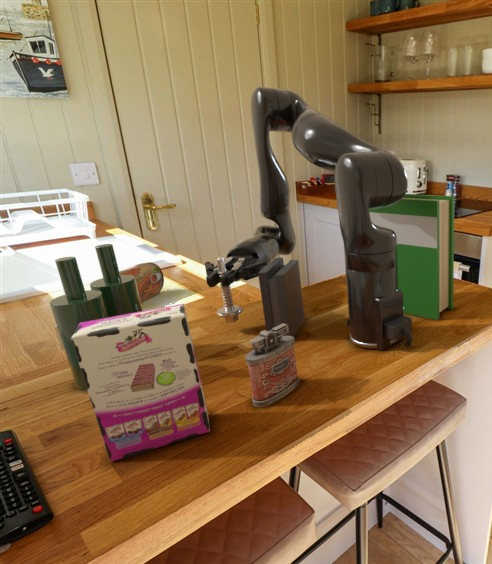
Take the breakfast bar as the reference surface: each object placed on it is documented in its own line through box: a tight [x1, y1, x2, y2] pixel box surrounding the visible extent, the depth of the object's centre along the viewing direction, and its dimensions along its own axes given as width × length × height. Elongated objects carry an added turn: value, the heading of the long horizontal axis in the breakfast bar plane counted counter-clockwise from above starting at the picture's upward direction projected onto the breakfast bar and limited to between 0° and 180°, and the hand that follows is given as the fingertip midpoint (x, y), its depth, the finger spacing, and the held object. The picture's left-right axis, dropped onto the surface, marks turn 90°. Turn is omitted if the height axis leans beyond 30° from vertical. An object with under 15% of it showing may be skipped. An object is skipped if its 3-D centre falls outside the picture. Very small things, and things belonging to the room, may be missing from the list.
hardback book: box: [369, 193, 455, 321], centre depth 90 cm, size 18×7×24 cm, turn 58°
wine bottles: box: [49, 243, 144, 391], centre depth 68 cm, size 14×7×20 cm, turn 178°
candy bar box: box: [71, 303, 211, 462], centre depth 51 cm, size 11×5×16 cm, turn 117°
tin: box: [119, 262, 165, 303], centre depth 101 cm, size 15×3×8 cm, turn 168°
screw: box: [215, 256, 244, 324], centre depth 81 cm, size 13×5×5 cm
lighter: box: [244, 324, 301, 408], centre depth 61 cm, size 8×3×10 cm, turn 148°
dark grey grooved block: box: [258, 257, 306, 338], centre depth 81 cm, size 4×10×14 cm, turn 178°
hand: (216, 282), depth 77 cm, fingers closed on screw, 2 cm apart
